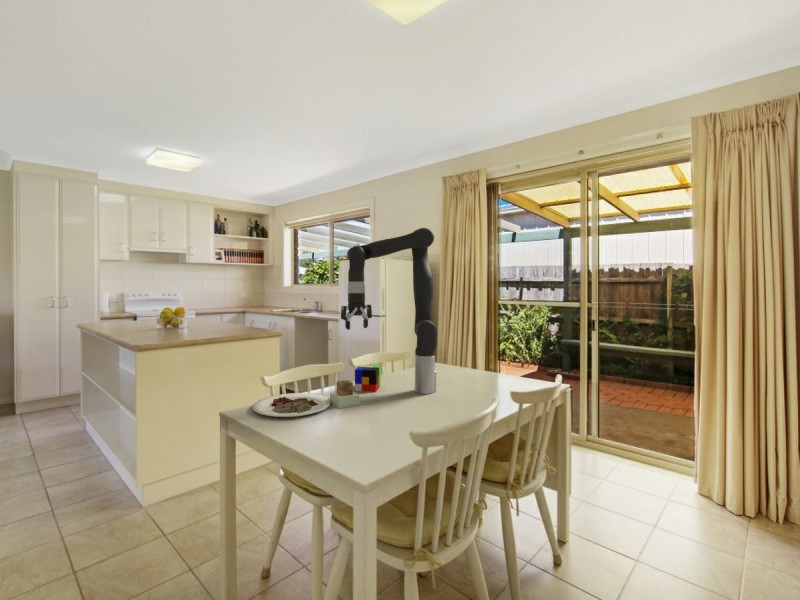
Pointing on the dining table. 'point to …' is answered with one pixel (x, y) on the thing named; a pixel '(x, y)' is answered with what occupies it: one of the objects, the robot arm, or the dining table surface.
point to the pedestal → (344, 400)
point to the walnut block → (344, 388)
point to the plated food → (291, 405)
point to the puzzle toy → (367, 378)
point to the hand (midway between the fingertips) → (356, 328)
